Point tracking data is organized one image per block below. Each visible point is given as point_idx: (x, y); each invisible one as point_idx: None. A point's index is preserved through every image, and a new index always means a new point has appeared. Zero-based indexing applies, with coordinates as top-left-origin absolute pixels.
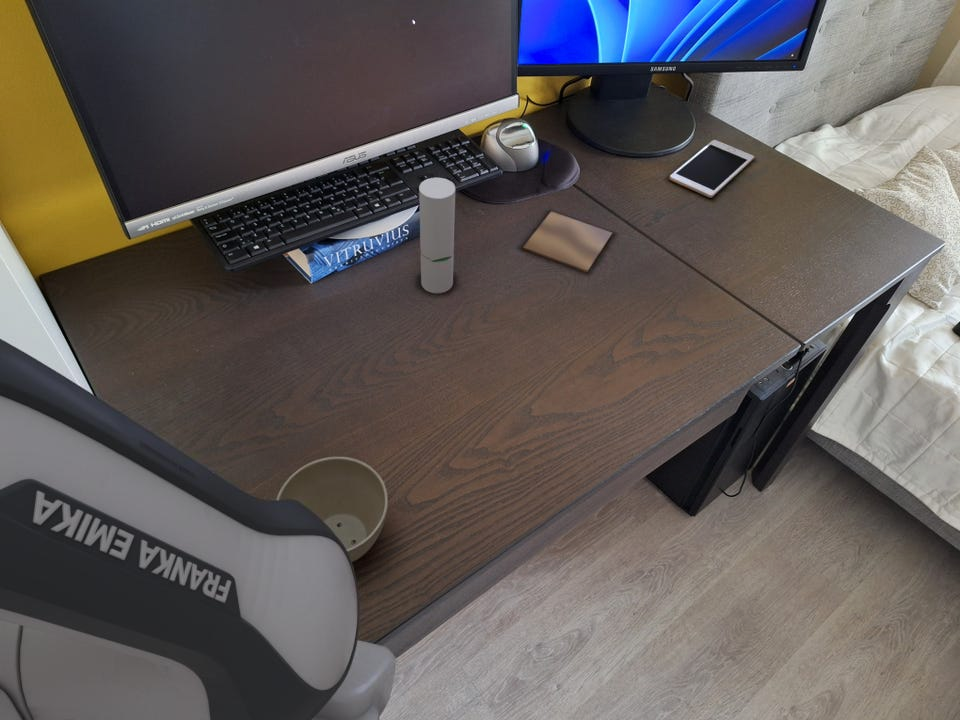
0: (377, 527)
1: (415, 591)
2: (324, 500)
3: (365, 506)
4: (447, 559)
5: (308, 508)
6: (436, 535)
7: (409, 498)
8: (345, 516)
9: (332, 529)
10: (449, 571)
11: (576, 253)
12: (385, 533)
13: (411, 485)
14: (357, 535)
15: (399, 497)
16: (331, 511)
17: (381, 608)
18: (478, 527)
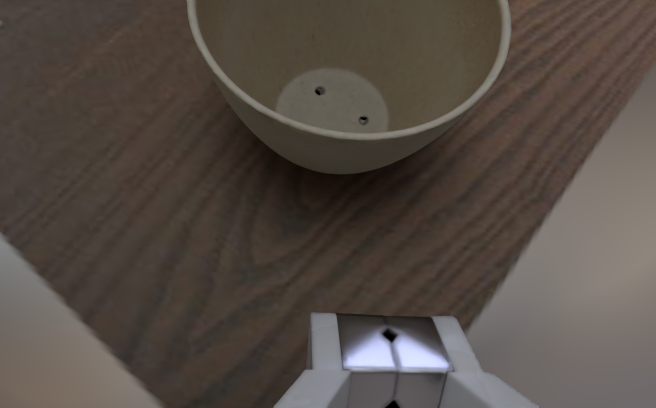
0: (507, 42)
1: (520, 197)
2: (282, 36)
3: (376, 39)
4: (551, 127)
5: (254, 54)
6: (512, 87)
7: None
8: (326, 73)
9: (309, 101)
10: (565, 149)
11: None
12: None
13: None
14: (366, 106)
15: None
16: (297, 64)
17: (468, 243)
18: (579, 63)
